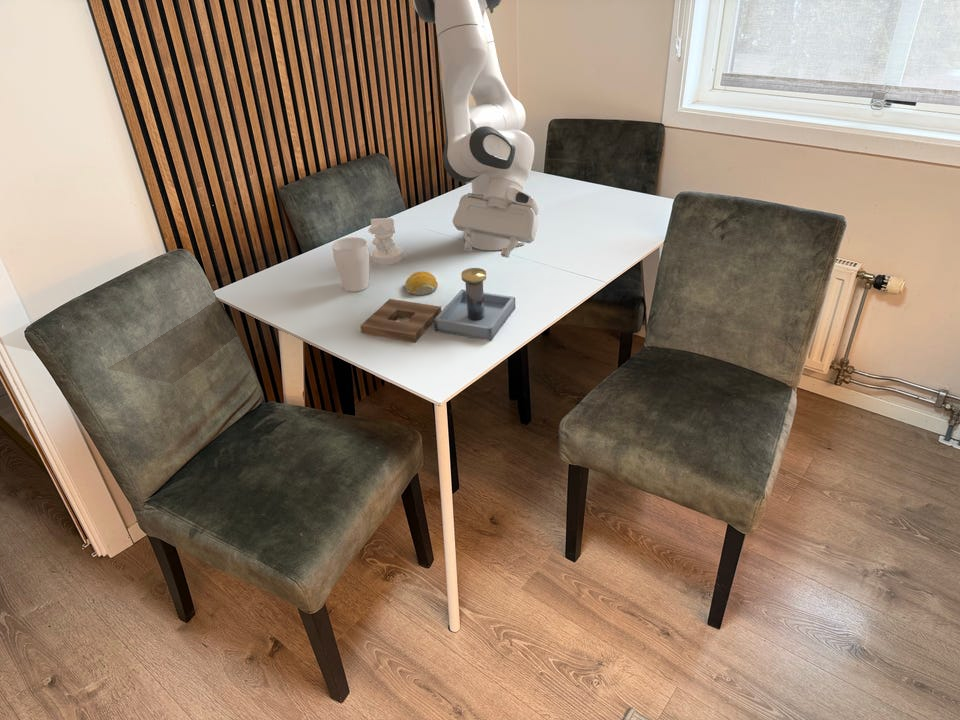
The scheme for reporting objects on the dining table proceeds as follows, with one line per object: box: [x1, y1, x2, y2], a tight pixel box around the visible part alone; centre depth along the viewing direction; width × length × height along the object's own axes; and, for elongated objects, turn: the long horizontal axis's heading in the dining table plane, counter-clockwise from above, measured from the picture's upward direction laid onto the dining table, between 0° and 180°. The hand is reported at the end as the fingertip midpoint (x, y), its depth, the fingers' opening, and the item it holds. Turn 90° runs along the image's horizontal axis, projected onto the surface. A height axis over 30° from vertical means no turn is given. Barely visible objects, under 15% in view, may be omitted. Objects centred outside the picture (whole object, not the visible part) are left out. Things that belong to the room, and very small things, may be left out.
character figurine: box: [367, 217, 404, 266], centre depth 187 cm, size 9×10×12 cm
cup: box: [331, 236, 370, 293], centre depth 172 cm, size 9×9×12 cm
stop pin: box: [460, 267, 487, 321], centre depth 154 cm, size 6×6×11 cm
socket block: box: [360, 298, 442, 343], centre depth 157 cm, size 14×14×2 cm
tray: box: [433, 289, 516, 341], centre depth 157 cm, size 16×14×3 cm
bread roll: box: [404, 271, 439, 296], centre depth 172 cm, size 8×9×4 cm
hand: (485, 252), depth 156 cm, fingers open, 8 cm apart
